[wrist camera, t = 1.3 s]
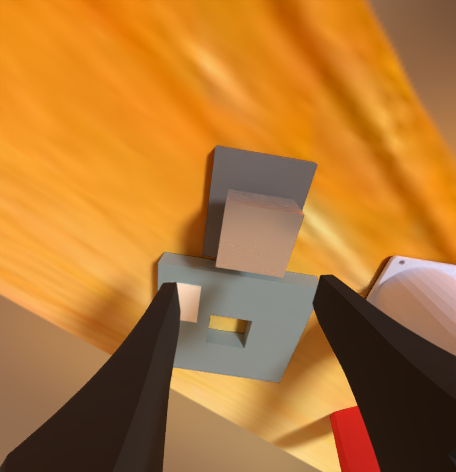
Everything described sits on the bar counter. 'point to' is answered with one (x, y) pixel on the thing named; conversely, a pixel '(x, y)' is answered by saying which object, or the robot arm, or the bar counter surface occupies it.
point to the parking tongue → (252, 184)
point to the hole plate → (237, 317)
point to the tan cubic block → (258, 233)
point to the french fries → (353, 442)
